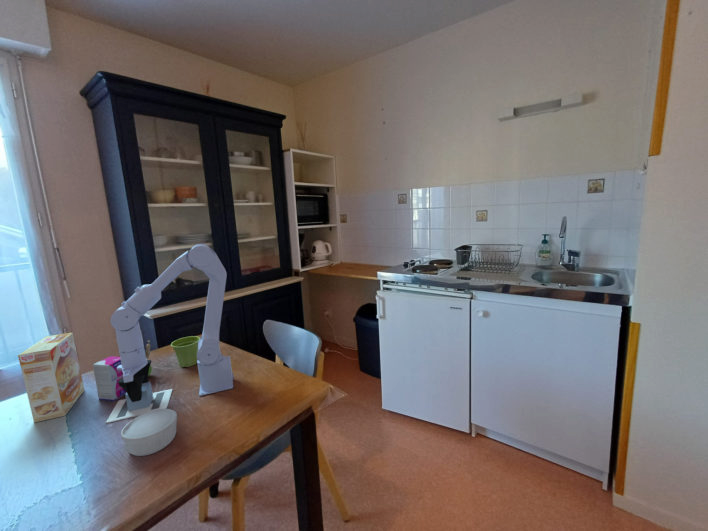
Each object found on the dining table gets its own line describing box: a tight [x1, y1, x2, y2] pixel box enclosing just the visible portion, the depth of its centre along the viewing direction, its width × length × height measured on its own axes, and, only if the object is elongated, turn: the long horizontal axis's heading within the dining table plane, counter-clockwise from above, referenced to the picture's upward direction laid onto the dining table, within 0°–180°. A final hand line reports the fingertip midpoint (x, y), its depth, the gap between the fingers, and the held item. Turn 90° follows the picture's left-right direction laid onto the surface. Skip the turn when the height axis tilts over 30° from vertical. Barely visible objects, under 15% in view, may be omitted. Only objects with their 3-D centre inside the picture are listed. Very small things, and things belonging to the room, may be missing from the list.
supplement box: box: [92, 355, 126, 402], centre depth 97 cm, size 6×6×12 cm
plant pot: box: [170, 335, 201, 368], centre depth 116 cm, size 9×9×9 cm
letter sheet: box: [105, 388, 173, 424], centre depth 92 cm, size 14×11×1 cm
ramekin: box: [120, 408, 178, 457], centre depth 76 cm, size 11×11×5 cm
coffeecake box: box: [17, 332, 86, 423], centre depth 92 cm, size 15×7×20 cm, turn 23°
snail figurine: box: [145, 340, 153, 377], centre depth 107 cm, size 5×6×12 cm
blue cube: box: [124, 381, 154, 412], centre depth 91 cm, size 5×5×5 cm
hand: (140, 393), depth 91 cm, fingers open, 7 cm apart
